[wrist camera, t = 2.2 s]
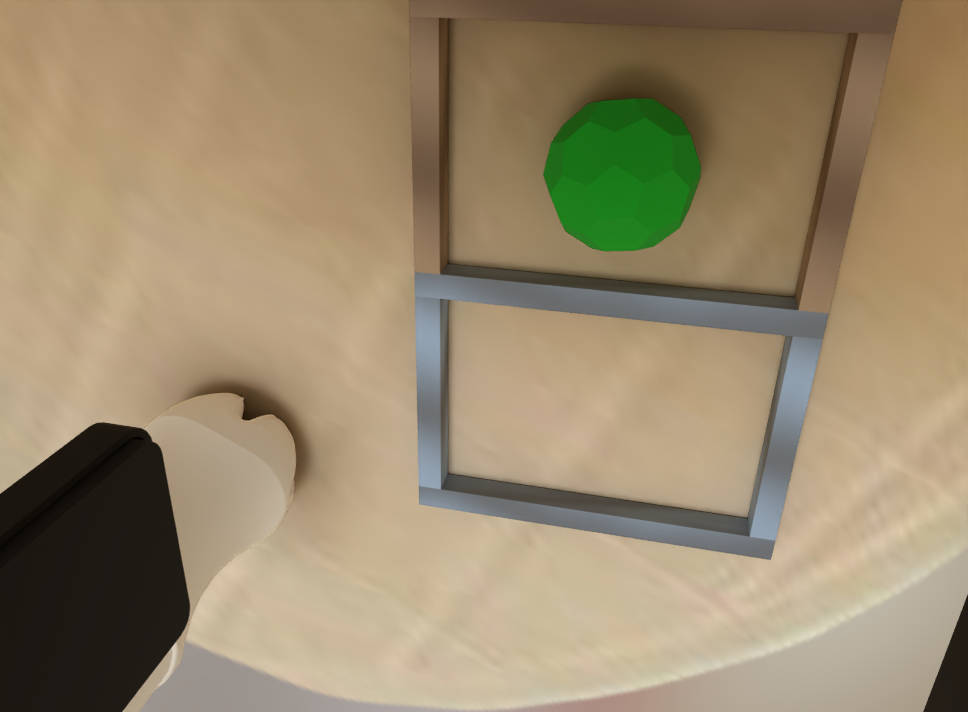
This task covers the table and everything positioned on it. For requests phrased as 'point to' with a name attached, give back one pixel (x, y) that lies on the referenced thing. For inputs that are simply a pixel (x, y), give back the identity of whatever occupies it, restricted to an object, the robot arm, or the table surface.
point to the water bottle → (218, 493)
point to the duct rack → (681, 3)
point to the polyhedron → (622, 174)
